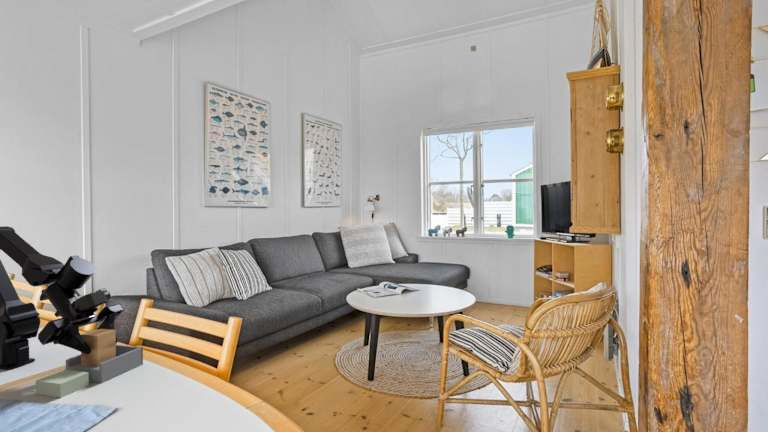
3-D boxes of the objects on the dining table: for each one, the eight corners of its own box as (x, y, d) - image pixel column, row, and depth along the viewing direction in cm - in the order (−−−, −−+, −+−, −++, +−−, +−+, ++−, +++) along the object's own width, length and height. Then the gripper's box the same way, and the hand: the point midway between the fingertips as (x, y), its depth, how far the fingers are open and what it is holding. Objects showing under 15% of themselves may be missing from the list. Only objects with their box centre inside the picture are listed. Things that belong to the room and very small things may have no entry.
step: (35, 394, 90) (35, 380, 90) (64, 382, 97) (64, 369, 97) (60, 397, 89) (60, 384, 89) (88, 385, 95) (88, 372, 95)
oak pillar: (81, 364, 100) (81, 334, 100) (99, 357, 105) (99, 328, 104) (97, 366, 98) (97, 335, 98) (115, 359, 103) (115, 330, 103)
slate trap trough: (65, 378, 99) (65, 359, 99) (109, 360, 111) (109, 343, 110) (102, 382, 96) (101, 364, 96) (142, 364, 108) (142, 347, 108)
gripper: (46, 287, 93) (86, 338, 91) (117, 274, 111) (151, 317, 109) (20, 319, 95) (58, 370, 93) (94, 301, 113) (127, 344, 111)
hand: (103, 348), depth 101 cm, fingers open, 7 cm apart
